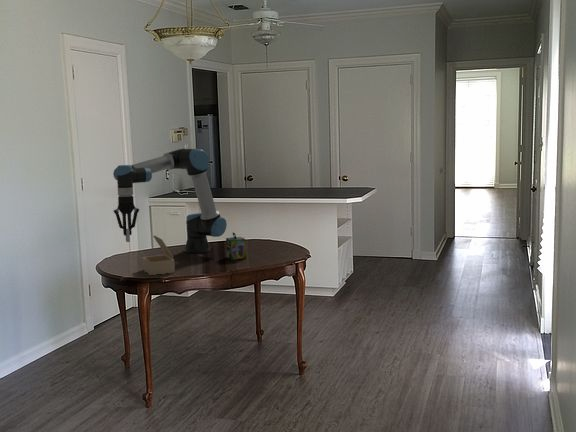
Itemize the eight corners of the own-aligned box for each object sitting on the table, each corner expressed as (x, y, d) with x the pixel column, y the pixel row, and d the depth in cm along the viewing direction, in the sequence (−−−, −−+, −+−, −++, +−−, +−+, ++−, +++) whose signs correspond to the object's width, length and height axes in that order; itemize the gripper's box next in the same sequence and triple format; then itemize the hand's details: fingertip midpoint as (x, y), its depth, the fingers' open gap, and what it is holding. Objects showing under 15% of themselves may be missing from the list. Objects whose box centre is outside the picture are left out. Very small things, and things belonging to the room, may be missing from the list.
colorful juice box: (246, 258, 357) (245, 233, 355) (231, 260, 353) (230, 234, 351) (241, 255, 365) (240, 230, 363) (226, 257, 362) (225, 232, 360)
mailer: (142, 270, 333) (142, 257, 332) (166, 267, 339) (166, 254, 338) (150, 275, 320) (149, 262, 319) (174, 272, 326) (174, 259, 325)
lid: (153, 236, 333) (154, 235, 334) (164, 253, 337) (165, 252, 338) (160, 240, 321) (162, 239, 321) (172, 258, 325) (173, 257, 325)
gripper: (114, 197, 310) (116, 243, 314) (140, 195, 316) (142, 241, 320) (111, 195, 317) (113, 241, 320) (136, 194, 323) (138, 239, 326)
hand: (127, 241), depth 320 cm, fingers closed
